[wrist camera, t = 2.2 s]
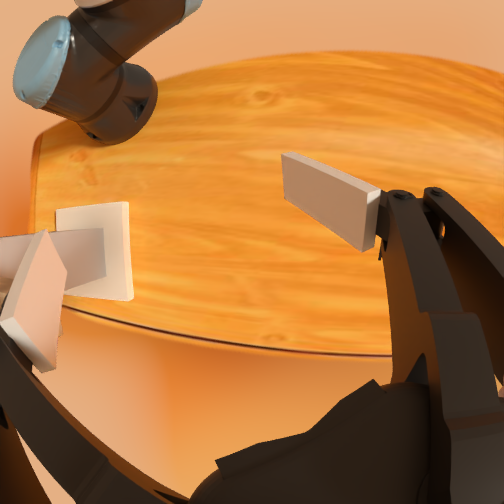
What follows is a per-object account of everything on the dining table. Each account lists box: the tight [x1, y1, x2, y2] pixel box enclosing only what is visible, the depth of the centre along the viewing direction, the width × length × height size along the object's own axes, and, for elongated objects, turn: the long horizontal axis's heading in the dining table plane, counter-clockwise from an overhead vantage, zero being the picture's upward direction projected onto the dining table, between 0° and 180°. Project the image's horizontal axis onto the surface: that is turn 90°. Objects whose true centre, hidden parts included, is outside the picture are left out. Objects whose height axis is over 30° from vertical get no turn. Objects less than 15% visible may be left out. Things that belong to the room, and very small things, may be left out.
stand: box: [0, 202, 134, 301], centre depth 30 cm, size 16×16×30 cm
